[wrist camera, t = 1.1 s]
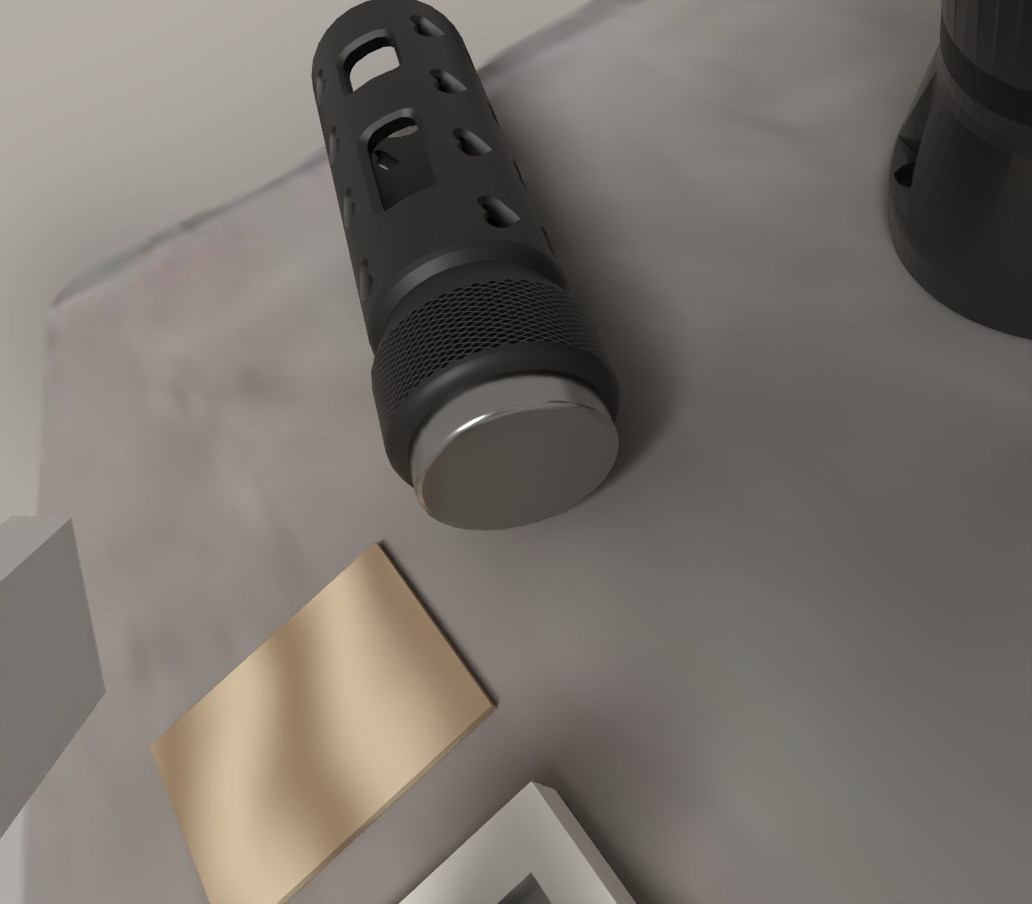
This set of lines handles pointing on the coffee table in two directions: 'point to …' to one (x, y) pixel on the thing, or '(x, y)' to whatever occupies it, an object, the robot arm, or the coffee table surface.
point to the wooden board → (316, 735)
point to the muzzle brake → (458, 283)
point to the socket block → (525, 860)
